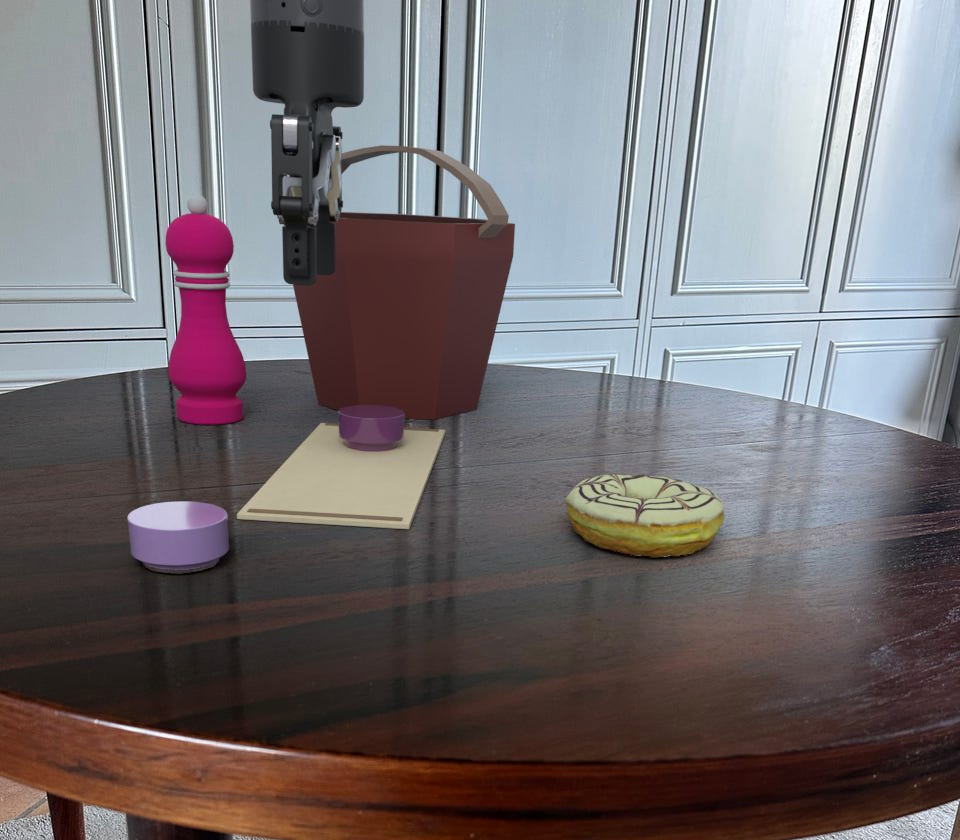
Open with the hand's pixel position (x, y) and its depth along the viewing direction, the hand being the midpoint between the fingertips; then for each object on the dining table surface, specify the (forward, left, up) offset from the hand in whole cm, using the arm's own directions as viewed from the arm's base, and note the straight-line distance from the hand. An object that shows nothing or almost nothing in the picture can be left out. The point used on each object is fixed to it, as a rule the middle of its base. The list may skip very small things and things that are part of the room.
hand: (311, 279), depth 75 cm
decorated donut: (+25, -10, -15) cm, 31 cm away
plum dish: (+3, +11, -15) cm, 18 cm away
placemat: (+3, +4, -15) cm, 16 cm away
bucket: (+3, +33, -15) cm, 36 cm away
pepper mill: (-14, +20, -15) cm, 29 cm away
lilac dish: (-4, -20, -15) cm, 26 cm away
